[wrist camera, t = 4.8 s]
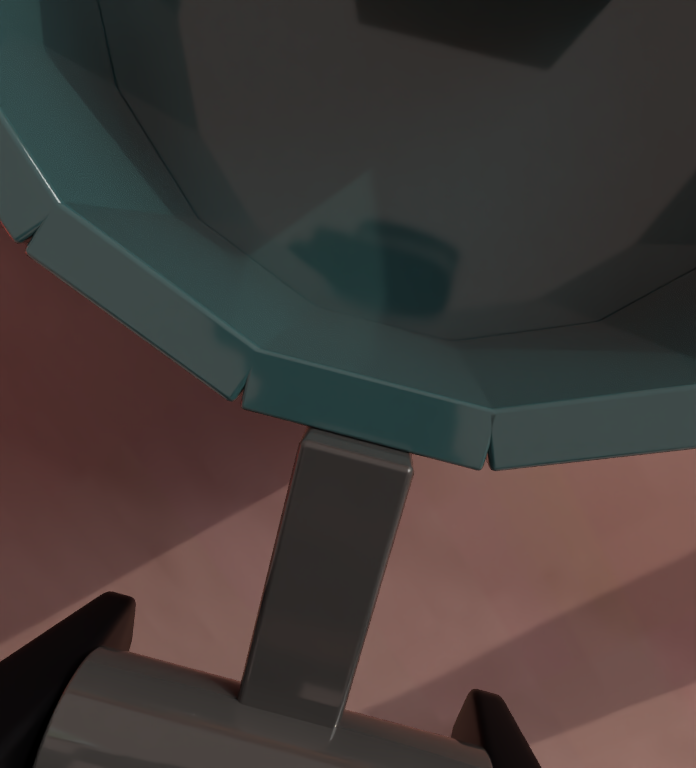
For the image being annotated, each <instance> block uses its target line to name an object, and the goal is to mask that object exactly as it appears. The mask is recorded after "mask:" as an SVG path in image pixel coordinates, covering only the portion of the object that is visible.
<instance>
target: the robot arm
mask: <svg viewBox="0 0 696 768" xmlns="http://www.w3.org/2000/svg"><path fill="white" fill-rule="evenodd" d="M135 607H136V603H135V600H134V598H132V597H130V596H126V595H123V594H119V593H115V592H106V593H103V594H102V595H100V596H98V597H97V598H95V599H94V600H92V601H91V602H89V603H88V604H86V605H85V606H83V607H82V608H80V609H79V610H77V611H76V612H74V613H73V614H71V615H70V616H68V617H67V618H65V619H64V620H62V621H61V622H59V623H58V624H56V625H55V626H53V627H52V628H50V629H49V630H47V631H46V632H44V633H43V634H41V635H40V636H38V637H37V638H35V639H34V640H32V641H31V642H29V643H28V644H26V645H25V646H23V647H22V648H20V649H19V650H17V651H16V652H14V653H13V654H11V655H10V656H8V657H7V658H5V659H4V660H2V661H1V662H0V768H32V766H33V763H34V759H35V756H36V753H37V750H38V747H39V745H40V742H41V739H42V737H43V734H44V732H45V729H46V727H47V724H48V722H49V720H50V718H51V715H52V713H53V711H54V709H55V707H56V705H57V703H58V701H59V699H60V697H61V695H62V693H63V691H64V689H65V688H66V686H67V684H68V682H69V681H70V679H71V678H72V676H73V674H74V673H75V671H76V670H77V668H78V667H79V666H80V664H81V663H82V662H83V660H84V659H85V658H86V657H87V656H88V654H89V653H90V652H91V651H93V650H94V649H95V648H97V647H98V646H103V645H106V646H110V647H114V648H118V649H121V650H125V651H129V649H130V645H131V642H132V636H133V626H134V617H135ZM451 738H454V739H458V740H461V741H465V742H469V743H473V744H476V745H480V746H481V747H482V748H484V749H485V750H486V752H487V753H488V755H489V757H490V759H491V762H492V765H493V768H541V766H540V764H539V763H538V761H537V759H536V757H535V756H534V754H533V752H532V750H531V748H530V747H529V745H528V743H527V741H526V739H525V738H524V736H523V734H522V732H521V730H520V729H519V727H518V725H517V723H516V721H515V720H514V718H513V716H512V714H511V713H510V711H509V709H508V707H507V705H506V704H505V702H504V700H503V699H502V698H501V697H500V696H499V695H497V694H494V693H490V692H486V691H483V690H479V689H473V690H471V691H470V692H469V694H468V696H467V698H466V700H465V702H464V704H463V707H462V709H461V711H460V713H459V715H458V717H457V720H456V722H455V724H454V727H453V731H452V735H451Z"/></svg>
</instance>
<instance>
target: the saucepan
mask: <svg viewBox="0 0 696 768" xmlns="http://www.w3.org/2000/svg"><path fill="white" fill-rule="evenodd" d="M0 223H1V224H2V226H3V227H4V229H5V230H6V232H7V233H8V235H9V236H10V237H11V239H12V240H13V241H14V242H16V243H17V244H28V245H27V247H26V249H25V253H26V254H27V256H28V257H30V258H31V259H33V260H34V261H35V262H37V263H38V264H39V265H41V266H42V267H44V268H45V269H46V270H48V271H49V272H51V273H52V274H53V275H55V276H56V277H57V278H59V279H60V280H62V281H63V282H64V283H66V284H67V285H68V286H70V287H71V288H73V289H74V290H75V291H77V292H78V293H80V294H81V295H82V296H84V297H85V298H86V299H88V300H89V301H91V302H92V303H93V304H95V305H96V306H98V307H99V308H100V309H102V310H103V311H104V312H106V313H107V314H109V315H110V316H111V317H113V318H114V319H115V320H117V321H118V322H120V323H121V324H122V325H124V326H125V327H127V328H128V329H129V330H131V331H132V332H133V333H135V334H136V335H138V336H139V337H140V338H142V339H143V340H145V341H146V342H147V343H149V344H150V345H151V346H153V347H154V348H156V349H157V350H158V351H160V352H161V353H162V354H164V355H165V356H167V357H168V358H169V359H171V360H172V361H174V362H175V363H176V364H178V365H179V366H180V367H182V368H183V369H185V370H186V371H187V372H189V373H190V374H192V375H193V376H194V377H196V378H197V379H198V380H200V381H201V382H203V383H204V384H205V385H207V386H208V387H209V388H211V389H212V390H214V391H215V392H216V393H218V394H219V395H221V396H222V397H223V398H225V399H226V400H227V401H231V402H233V401H235V400H236V399H237V398H238V397H239V396H240V395H241V394H242V393H243V395H242V399H241V408H243V409H244V410H248V411H252V412H255V413H259V414H263V415H267V416H271V417H275V418H278V419H282V420H286V421H290V422H294V423H298V424H301V425H305V426H307V427H306V430H305V432H304V434H303V436H302V438H301V440H300V442H299V445H298V449H297V453H296V457H295V462H294V466H293V470H292V474H291V478H290V482H289V486H288V490H287V494H286V499H285V503H284V507H283V511H282V515H281V519H280V523H279V527H278V532H277V536H276V540H275V544H274V548H273V552H272V556H271V560H270V565H269V569H268V573H267V577H266V581H265V585H264V589H263V593H262V597H261V602H260V606H259V610H258V614H257V618H256V622H255V626H254V630H253V635H252V639H251V643H250V647H249V651H248V655H247V659H246V663H245V668H244V672H243V676H242V680H241V681H237V680H234V679H230V678H226V677H222V676H219V675H215V674H211V673H207V672H204V671H200V670H196V669H192V668H189V667H185V666H181V665H177V664H174V663H170V662H166V661H163V660H159V659H155V658H151V657H148V656H144V655H140V654H136V653H133V652H129V651H125V650H121V649H118V648H114V647H110V646H106V645H103V646H98V647H97V648H95V649H94V650H93V651H91V652H90V653H89V654H88V656H87V657H86V658H85V659H84V660H83V662H82V663H81V664H80V666H79V667H78V668H77V670H76V671H75V673H74V674H73V676H72V678H71V679H70V681H69V682H68V684H67V686H66V688H65V689H64V691H63V693H62V695H61V697H60V699H59V701H58V703H57V705H56V707H55V709H54V711H53V713H52V715H51V718H50V720H49V722H48V724H47V727H46V729H45V732H44V734H43V737H42V739H41V742H40V745H39V747H38V750H37V753H36V756H35V759H34V763H33V766H32V768H493V765H492V762H491V759H490V757H489V755H488V753H487V752H486V750H485V749H484V748H482V747H481V746H480V745H476V744H473V743H469V742H465V741H461V740H458V739H454V738H450V737H447V736H443V735H439V734H435V733H432V732H428V731H424V730H420V729H417V728H413V727H409V726H405V725H402V724H398V723H394V722H390V721H387V720H383V719H379V718H376V717H372V716H368V715H364V714H361V713H357V712H353V711H349V710H346V709H345V706H346V703H347V699H348V696H349V693H350V689H351V686H352V682H353V679H354V676H355V672H356V669H357V666H358V662H359V659H360V655H361V652H362V649H363V645H364V642H365V638H366V635H367V632H368V628H369V625H370V621H371V618H372V615H373V611H374V608H375V604H376V601H377V598H378V594H379V591H380V587H381V584H382V581H383V577H384V574H385V570H386V567H387V564H388V560H389V557H390V553H391V550H392V547H393V543H394V540H395V536H396V533H397V530H398V526H399V523H400V519H401V516H402V513H403V509H404V506H405V502H406V499H407V496H408V492H409V489H410V485H411V482H412V479H413V475H414V470H413V459H412V454H416V455H420V456H424V457H428V458H431V459H435V460H439V461H443V462H447V463H451V464H454V465H458V466H462V467H466V468H470V469H473V470H481V469H482V468H483V466H484V462H485V459H486V461H487V463H488V465H489V467H490V469H491V470H493V471H500V470H509V469H518V468H527V467H536V466H545V465H554V464H563V463H571V462H580V461H589V460H598V459H607V458H616V457H625V456H634V455H643V454H652V453H661V452H670V451H679V450H688V449H696V0H0Z"/></svg>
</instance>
